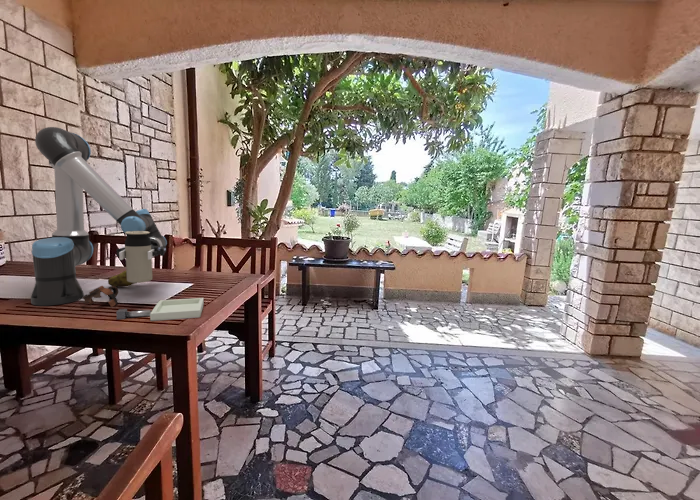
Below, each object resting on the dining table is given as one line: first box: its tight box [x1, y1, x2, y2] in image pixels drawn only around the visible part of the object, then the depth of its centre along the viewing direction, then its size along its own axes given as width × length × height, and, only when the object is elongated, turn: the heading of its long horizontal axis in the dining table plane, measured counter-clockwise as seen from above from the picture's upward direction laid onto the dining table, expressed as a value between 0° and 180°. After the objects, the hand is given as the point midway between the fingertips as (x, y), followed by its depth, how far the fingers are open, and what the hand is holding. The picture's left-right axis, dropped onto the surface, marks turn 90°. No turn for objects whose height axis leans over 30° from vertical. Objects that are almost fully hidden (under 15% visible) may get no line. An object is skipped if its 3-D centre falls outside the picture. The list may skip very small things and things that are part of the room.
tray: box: [149, 297, 205, 322], centre depth 118 cm, size 15×15×2 cm
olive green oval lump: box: [107, 270, 136, 288], centre depth 147 cm, size 8×13×8 cm, turn 74°
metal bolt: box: [116, 308, 152, 320], centre depth 112 cm, size 9×3×3 cm, turn 109°
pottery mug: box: [82, 285, 119, 308], centre depth 124 cm, size 12×10×8 cm
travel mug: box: [124, 231, 153, 284], centre depth 121 cm, size 8×8×18 cm
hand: (134, 255), depth 116 cm, fingers closed on travel mug, 8 cm apart
